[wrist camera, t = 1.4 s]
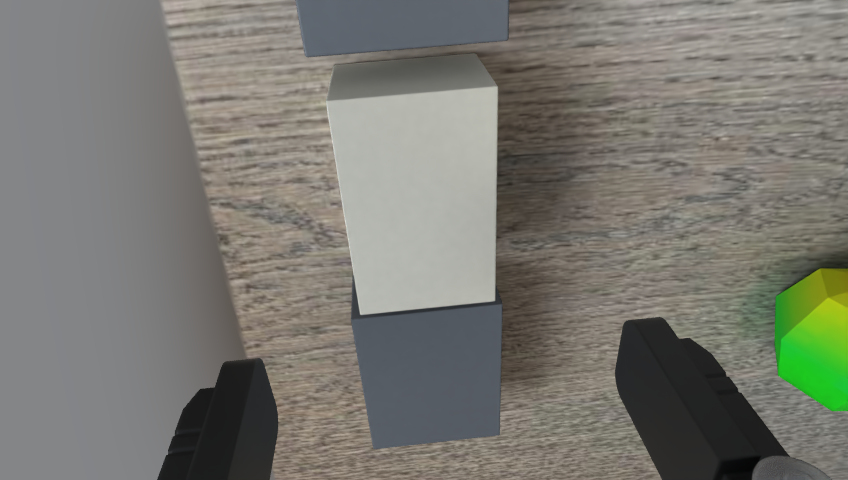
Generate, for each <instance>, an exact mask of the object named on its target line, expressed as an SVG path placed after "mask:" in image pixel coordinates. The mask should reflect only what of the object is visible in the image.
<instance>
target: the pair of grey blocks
mask: <svg viewBox="0 0 848 480" xmlns="http://www.w3.org/2000/svg"><path fill="white" fill-rule="evenodd" d="M295 1H296V6H297V12H298V18H299V24H300V29H301V35H302V41H303V47H304V52H305V56H306V57H317V56H329V55H341V54H353V53H365V52H377V51H389V50H401V49H413V48H425V47H437V46H449V45H461V44H473V43H485V42H497V41H506V40H508V37H509V0H295ZM502 308H503V304H502V301H501V298H500V295H499V292H498V289H497V286H496V289H495V301H492V302H482V303H472V304H462V305H453V306H443V307H433V308H424V309H414V310H404V311H394V312H385V313H375V314H365V315H360V311H359V305H358V298H357V292H356V286H355V280H354V275H353V284H352V308H351V323H352V329H353V334H354V340H355V346H356V352H357V357H358V363H359V369H360V375H361V380H362V386H363V392H364V398H365V403H366V409H367V415H368V421H369V426H370V432H371V438H372V444H373V449H381V448H389V447H398V446H407V445H416V444H425V443H434V442H443V441H452V440H460V439H469V438H478V437H487V436H496V435H500V397H501V353H502Z"/></svg>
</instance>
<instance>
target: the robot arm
mask: <svg viewBox="0 0 848 480" xmlns="http://www.w3.org/2000/svg"><path fill="white" fill-rule="evenodd" d="M615 378H616V385H617V389H618V392H619V395H620V397H621V400H622V401H623V403H624V405H625V407H626V409H627V411H628V413H629V415H630V417H631V419H632V421H633V423H634V425H635V427H636V429H637V431H638V433H639V435H640V437H641V439H642V441H643V443H644V445H645V447H646V449H647V451H648V453H649V455H650V457H651V458H652V460H653V462H654V464H655V466H656V468H657V470H658V472H659V474H660V476H661V478H662V480H832V479H831V478H830V477H829V476H828V475H826V474H825V473H824V472H822V471H821V470H819V469H818V468H816V467H815V466H813V465H811V464H809V463H807V462H804V461H802V460H799V459H796V458H792V457H790V456H789V455H788V454H787V452H786V451H785V450H784V449H783V447H782V446H781V445H780V443H779V442H778V441H777V439H776V438H775V437H774V436H773V434H772V433H771V432H770V430H769V429H768V428H767V426H766V425H765V424H764V422H763V421H762V420H761V418H760V417H759V416H758V414H757V413H756V412H755V411H754V409H753V408H752V407H751V405H750V404H749V403H748V401H747V400H746V399H745V397H744V396H743V395H742V393H739V392H738V388H737V387H736V386H735V384H734V383H733V382H732V380H731V379H730V378H729V377H727V376H726V372H725V371H724V370H723V368H722V367H721V366H720V364H719V363H718V362H717V361H716V359H715V358H714V357H713V355H712V354H711V353H710V352H708V351H707V350H706V349H704V348H703V347H701V346H700V345H699V344H697V343H696V342H694V341H693V340H692V339H690V338H684V339H679V338H678V337H677V336H676V334H675V333H674V331H673V330H672V329H671V327H670V326H669V324H668V323H667V322H666V320H664V319H663V318H661V317H656V318H646V319H637V320H628V321H626V322H625V323H624V325H623V329H622V335H621V340H620V346H619V352H618V357H617V363H616V369H615ZM277 433H278V413H277V406H276V403H275V399H274V396H273V393H272V389H271V386H270V383H269V379H268V376H267V373H266V369H265V366H264V363H263V361H262V359H261V358H255V359H245V360H236V361H227V362H224V363H223V365H222V367H221V370H220V373H219V376H218V379H217V383H216V386H215V388H206V389H200V390H199V391H198V392H197V393H196V395H195V396H194V397H193V398H192V399H191V401H190V402H189V403H188V404H187V405H186V407H185V408H184V409H183V411H182V414H181V416H180V419H179V422H178V425H177V427H176V430H175V436H174V437H173V438H172V441H171V444H170V446H169V449H168V455H166V457H165V460H164V463H163V465H162V468H161V471H160V474H159V476H158V479H157V480H270V474H271V469H272V463H273V457H274V451H275V445H276V440H277Z"/></svg>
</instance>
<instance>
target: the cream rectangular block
mask: <svg viewBox="0 0 848 480" xmlns="http://www.w3.org/2000/svg"><path fill="white" fill-rule="evenodd" d="M326 106H327V112H328V118H329V125H330V131H331V137H332V143H333V150H334V156H335V162H336V168H337V174H338V181H339V187H340V193H341V199H342V205H343V212H344V218H345V224H346V230H347V236H348V243H349V249H350V255H351V261H352V267H353V274H354V280H355V286H356V292H357V298H358V305H359V311H360V315H365V314H375V313H385V312H394V311H404V310H414V309H424V308H433V307H443V306H453V305H462V304H472V303H482V302H492V301H495V289H496V214H497V139H498V86H497V84H496V83H495V81H494V80H493V78H492V77H491V76H490V74H489V73H488V71H487V70H486V68H485V67H484V65H483V64H482V62H481V61H480V59H479V58H478V57H477V55H476V54H475V53H471V54H459V55H447V56H435V57H423V58H411V59H399V60H387V61H375V62H363V63H351V64H339V65H334V66H333V70H332V75H331V80H330V85H329V90H328V94H327V99H326Z"/></svg>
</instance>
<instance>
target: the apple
mask: <svg viewBox="0 0 848 480" xmlns="http://www.w3.org/2000/svg"><path fill="white" fill-rule="evenodd" d="M775 351H776V360H777V369H778V376H780V377H781V378H783V379H784V380H786V381H787V382H789V383H790V384H792V385H793V386H795V387H796V388H798V389H799V390H801V391H802V392H804V393H805V394H807V395H808V396H810V397H811V398H813V399H815V400H816V401H818V402H819V403H821V404H822V405H824V406H825V407H827V408H828V409H830V410H831V411H848V269H828V268H820V269H818V270H817V271H815V272H814V273H812V274H811V275H809V276H807V277H806V278H804V279H803V280H801V281H800V282H798V283H796V284H795V285H793V286H792V287H790V288H789V289H787V290H785V291H784V292H782V293H781V294H779V295H777V296H776V308H775Z"/></svg>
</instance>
